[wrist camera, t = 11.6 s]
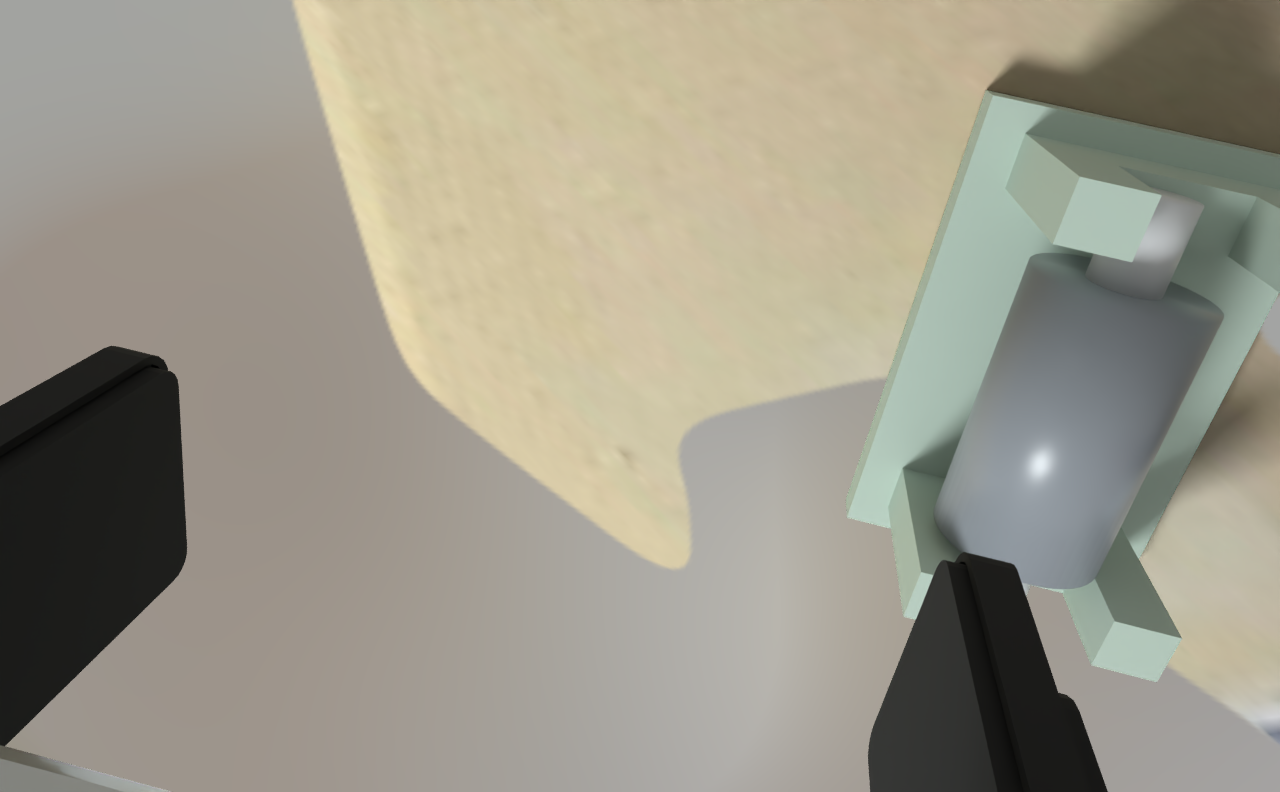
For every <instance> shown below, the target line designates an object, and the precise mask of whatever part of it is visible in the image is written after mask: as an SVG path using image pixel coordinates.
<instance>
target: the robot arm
mask: <svg viewBox="0 0 1280 792" xmlns="http://www.w3.org/2000/svg"><path fill="white" fill-rule="evenodd" d="M182 463H183V462H182V443H181V424H180V404H179V386H178V380H177V378H176V376H175V374H173V373H172V372H171V371H168V368H167V365H166V364H165V362H164V360H163V359H161V358H160V357H159V356H154V355H150V354H146V353H142V352H138V351H134V350H130V349H125V348H121V347H116V346H110V347H107V348H104V349H102V350H100V351H98V352H97V353H95V354H93V355H91V356H89V357H88V358H86V359H84V360H82V361H81V362H79V363H77V364H75V365H73V366H71V367H70V368H68V369H66V370H65V371H63V372H61V373H59V374H57V375H55V376H53V377H52V378H50V379H48V380H46V381H44V382H43V383H41V384H39V385H37V386H36V387H34V388H32V389H30V390H29V391H26V392H25V393H23V394H21V395H19V396H17V397H16V398H14V399H12V400H10V401H9V402H7V403H5V404H3V405H1V406H0V792H171V791H167V790H164V789H160V788H157V787H153V786H149V785H145V784H142V783H138V782H135V781H131V780H127V779H123V778H120V777H115V776H112V775H109V774H105V773H101V772H98V771H94V770H90V769H87V768H82V767H79V766H75V765H72V764H68V763H64V762H61V761H57V760H53V759H49V758H46V757H42V756H38V755H35V754H31V753H27V752H24V751H20V750H16V749H12V748H9V747H5V745H6V744H7V743H8V742H10V741H11V740H12V738H13V737H15V736H16V735H17V734H18V733H19V732H20V731H21V730H22V729H23V728H24V727H25V726H26V725H27V724H28V723H29V722H30V721H31V720H32V719H33V718H34V717H35V716H36V715H37V714H38V713H39V712H40V711H41V710H42V709H43V708H44V707H45V706H46V705H47V704H48V703H49V702H50V701H51V700H52V699H53V698H54V697H55V696H56V695H57V694H58V693H60V692H61V691H62V689H64V687H66V686H67V685H68V684H69V683H70V682H71V681H72V680H73V679H74V678H75V677H76V676H77V675H78V674H79V673H80V672H81V671H82V670H83V669H84V668H85V667H86V666H87V665H88V664H89V663H90V662H91V661H92V660H93V659H94V658H95V657H96V656H97V655H98V654H99V653H100V652H101V651H102V650H103V649H104V648H105V647H106V646H107V645H108V644H109V643H111V642H112V640H114V639H115V638H116V637H117V636H118V635H119V634H120V633H121V632H122V631H123V630H124V629H125V628H126V627H127V626H128V625H129V624H130V623H131V622H132V621H133V620H134V619H135V618H136V617H137V616H138V615H139V614H140V613H141V612H142V611H143V610H144V609H145V608H146V607H147V606H148V605H149V604H150V603H151V602H152V601H153V600H154V599H155V598H156V597H157V596H158V595H159V594H160V593H161V592H163V591H164V590H165V588H167V587H168V586H169V585H170V584H171V583H172V582H173V581H174V579H175V578H176V577H177V576H178V575H179V573H180V571H181V569H182V567H183V565H184V562H185V559H186V554H187V539H186V520H185V500H184V482H183V464H182ZM868 764H869V777H870V792H1108V791H1107V789H1106V786H1105V783H1104V780H1103V777H1102V774H1101V772H1100V769H1099V766H1098V763H1097V760H1096V757H1095V754H1094V752H1093V749H1092V746H1091V743H1090V740H1089V737H1088V735H1087V732H1086V729H1085V726H1084V723H1083V720H1082V718H1081V715H1080V712H1079V710H1078V708H1077V706H1076V704H1075V702H1074V701H1073V700H1072V699H1071V698H1069V697H1068V696H1067V695H1065V694H1061V693H1058V691H1057V688H1056V685H1055V682H1054V679H1053V676H1052V673H1051V670H1050V667H1049V664H1048V661H1047V658H1046V655H1045V652H1044V649H1043V646H1042V643H1041V640H1040V637H1039V633H1038V631H1037V627H1036V624H1035V621H1034V618H1033V615H1032V612H1031V609H1030V607H1029V603H1028V600H1027V598H1026V594H1025V591H1024V588H1023V585H1022V582H1021V579H1020V576H1019V573H1018V570H1017V568H1016V567H1015V565H1014V564H1012V563H1008V562H1004V561H1000V560H996V559H992V558H988V557H983V556H979V555H975V554H971V553H967V552H963V553H961V554H960V555H959V556H958V558H957V559H956V561H955V562H951V561H947V560H942V561H941V562H940V563H939V564H938V566H937V568H936V570H935V573H934V575H933V578H932V580H931V583H930V585H929V588H928V590H927V593H926V595H925V598H924V600H923V603H922V605H921V608H920V610H919V613H918V615H917V618H916V621H915V623H914V626H913V628H912V631H911V633H910V636H909V638H908V641H907V643H906V646H905V648H904V651H903V653H902V656H901V659H900V661H899V663H898V666H897V668H896V671H895V673H894V676H893V678H892V681H891V683H890V686H889V688H888V691H887V693H886V696H885V698H884V701H883V703H882V706H881V709H880V711H879V714H878V716H877V718H876V721H875V724H874V726H873V729H872V733H871V737H870V742H869V751H868Z"/></svg>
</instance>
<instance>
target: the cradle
mask: <svg viewBox="0 0 1280 792" xmlns="http://www.w3.org/2000/svg"><path fill="white" fill-rule="evenodd" d="M1151 187H1153V188H1157V189H1161V190H1165V191H1169V192H1172V193H1176V194H1179V195H1182V196H1185V197H1188V198H1191V199H1193V200H1196V201H1198V202H1200V203H1202V204H1203V205H1204V206H1205V207H1204V209H1203V211H1202V213H1201V215H1200V217H1199V220H1198V222H1197V224H1196V226H1195V228H1194V231H1193V233H1192V235H1191V237H1190V239H1189V242H1188V244H1187V246H1186V248H1185V250H1184V252H1183V255H1182V257H1181V259H1180V261H1179V263H1178V266H1177V268H1176V270H1175V272H1174V274H1173V276H1172V279H1171V281H1170V282H1173V283H1176V284H1178V285H1180V286H1182V287H1185V288H1187V289H1189V290H1191V291H1193V292H1195V293H1197V294H1199V295H1201V296H1203V297H1204V298H1206V299H1208V300H1209V301H1211V302H1212V303H1214V304H1215V305H1216V306H1218V307H1219V308H1220V309H1221V310H1222V312H1223V313H1224V319H1223V321H1222V323H1221V325H1220V327H1219V329H1218V331H1217V333H1216V335H1215V337H1214V339H1213V341H1212V343H1211V345H1210V347H1209V349H1208V351H1207V353H1206V356H1205V358H1204V360H1203V362H1202V364H1201V366H1200V368H1199V370H1198V372H1197V374H1196V376H1195V378H1194V380H1193V382H1192V384H1191V386H1190V388H1189V390H1188V392H1187V394H1186V396H1185V398H1184V400H1183V402H1182V404H1181V406H1180V408H1179V410H1178V412H1177V414H1176V416H1175V418H1174V420H1173V422H1172V424H1171V426H1170V428H1169V430H1168V433H1167V435H1166V437H1165V439H1164V441H1163V443H1162V445H1161V447H1160V449H1159V451H1158V453H1157V455H1156V457H1155V459H1154V461H1153V463H1152V465H1151V467H1150V469H1149V471H1148V473H1147V475H1146V477H1145V479H1144V481H1143V483H1142V485H1141V487H1140V489H1139V491H1138V493H1137V495H1136V497H1135V499H1134V501H1133V503H1132V505H1131V507H1130V510H1129V512H1128V514H1127V516H1126V518H1125V520H1124V522H1123V524H1122V526H1121V528H1120V530H1119V532H1118V534H1117V536H1116V538H1115V540H1114V542H1113V544H1112V546H1111V548H1110V550H1109V552H1108V554H1107V556H1106V558H1105V560H1104V562H1103V564H1102V566H1101V568H1100V570H1099V572H1098V574H1097V576H1096V578H1095V579H1094V580H1093V581H1092V582H1091V583H1089V584H1088V585H1085V586H1083V587H1079V588H1074V589H1051V588H1044V589H1048V590H1052V591H1056V592H1060V593H1063V596H1064V598H1065V601H1066V603H1067V606H1068V608H1069V611H1070V613H1071V616H1072V618H1073V621H1074V623H1075V626H1076V628H1077V631H1078V633H1079V636H1080V638H1081V641H1082V643H1083V646H1084V648H1085V651H1086V653H1087V656H1088V658H1089V661H1090V663H1091V665H1092V666H1096V667H1101V668H1105V669H1108V670H1112V671H1116V672H1120V673H1123V674H1127V675H1131V676H1135V677H1139V678H1143V679H1147V680H1150V681H1155V682H1157V681H1158V679H1159V678H1160V676H1161V674H1162V672H1163V671H1164V669H1165V667H1166V665H1167V664H1168V662H1169V660H1170V659H1171V657H1172V655H1173V653H1174V652H1175V650H1176V648H1177V646H1178V645H1179V643H1180V641H1181V640H1182V638H1181V636H1180V634H1179V632H1178V630H1177V628H1176V627H1175V625H1174V623H1173V621H1172V619H1171V617H1170V616H1169V614H1168V612H1167V610H1166V608H1165V607H1164V605H1163V603H1162V601H1161V599H1160V597H1159V596H1158V594H1157V592H1156V590H1155V588H1154V586H1153V585H1152V583H1151V581H1150V579H1149V577H1148V575H1147V574H1146V572H1145V570H1144V568H1143V566H1142V565H1141V563H1140V561H1139V558H1140V556H1141V554H1142V552H1143V551H1144V549H1145V547H1146V545H1147V543H1148V541H1149V539H1150V537H1151V535H1152V533H1153V532H1154V530H1155V528H1156V526H1157V524H1158V522H1159V520H1160V518H1161V516H1162V514H1163V513H1164V511H1165V509H1166V507H1167V505H1168V503H1169V501H1170V499H1171V497H1172V495H1173V494H1174V492H1175V490H1176V488H1177V486H1178V484H1179V482H1180V480H1181V478H1182V476H1183V475H1184V473H1185V471H1186V469H1187V467H1188V465H1189V463H1190V461H1191V459H1192V457H1193V456H1194V454H1195V452H1196V450H1197V448H1198V446H1199V444H1200V442H1201V440H1202V438H1203V437H1204V435H1205V433H1206V431H1207V429H1208V427H1209V425H1210V423H1211V421H1212V419H1213V418H1214V416H1215V414H1216V412H1217V410H1218V408H1219V406H1220V404H1221V402H1222V400H1223V399H1224V397H1225V395H1226V393H1227V391H1228V389H1229V387H1230V385H1231V383H1232V381H1233V380H1234V378H1235V376H1236V374H1237V372H1238V370H1239V368H1240V366H1241V364H1242V362H1243V361H1244V359H1245V357H1246V355H1247V353H1248V351H1249V349H1250V347H1251V345H1252V343H1253V342H1254V340H1255V338H1256V336H1257V334H1258V332H1259V330H1260V328H1261V326H1262V324H1263V323H1264V321H1265V319H1266V317H1267V315H1268V313H1269V311H1270V309H1271V307H1272V305H1273V303H1274V302H1275V300H1276V298H1277V296H1278V294H1279V293H1280V154H1276V153H1272V152H1267V151H1263V150H1258V149H1253V148H1249V147H1244V146H1240V145H1235V144H1231V143H1226V142H1221V141H1217V140H1212V139H1208V138H1203V137H1199V136H1194V135H1189V134H1185V133H1180V132H1176V131H1171V130H1167V129H1162V128H1157V127H1153V126H1148V125H1144V124H1139V123H1135V122H1130V121H1125V120H1121V119H1116V118H1112V117H1107V116H1103V115H1098V114H1093V113H1089V112H1084V111H1080V110H1075V109H1071V108H1066V107H1061V106H1057V105H1052V104H1048V103H1043V102H1039V101H1034V100H1029V99H1025V98H1020V97H1016V96H1011V95H1007V94H1002V93H997V92H993V91H988V90H986V91H985V94H984V97H983V100H982V103H981V106H980V109H979V112H978V115H977V118H976V121H975V124H974V126H973V129H972V132H971V135H970V138H969V141H968V144H967V147H966V150H965V153H964V156H963V159H962V162H961V164H960V167H959V170H958V173H957V176H956V179H955V182H954V185H953V188H952V191H951V194H950V197H949V200H948V203H947V205H946V208H945V211H944V214H943V217H942V220H941V223H940V226H939V229H938V232H937V235H936V238H935V241H934V243H933V246H932V249H931V252H930V255H929V258H928V261H927V264H926V267H925V270H924V273H923V276H922V279H921V281H920V284H919V287H918V290H917V293H916V296H915V299H914V302H913V305H912V308H911V311H910V314H909V317H908V320H907V322H906V325H905V328H904V331H903V334H902V337H901V340H900V343H899V346H898V349H897V352H896V355H895V358H894V360H893V363H892V366H891V369H890V372H889V375H888V378H887V381H886V384H885V387H884V390H883V393H882V396H881V398H880V401H879V404H878V407H877V410H876V413H875V416H874V419H873V422H872V425H871V428H870V431H869V434H868V436H867V439H866V442H865V445H864V448H863V452H862V454H861V457H860V460H859V463H858V466H857V469H856V472H855V475H854V478H853V480H852V484H851V486H850V489H849V492H848V495H847V498H846V511H847V518H851V519H854V520H858V521H862V522H866V523H870V524H874V525H878V526H882V527H886V528H890V529H891V532H892V539H893V547H894V554H895V560H896V568H897V575H898V582H899V590H900V597H901V604H902V610H903V617H907V618H911V619H915V620H916V618H917V615H918V613H919V610H920V608H921V605H922V603H923V600H924V598H925V595H926V593H927V590H928V588H929V585H930V583H931V580H932V578H933V575H934V573H935V570H936V568H937V566H938V564H939V563H940V562H941V561H942V560H947V561H951V562H955V561H956V559H957V558H958V556H959V555H960V554H961V553H962V552H961V551H959V550H958V549H957V548H956V547H955V546H953V545H952V544H951V543H950V542H949V541H948V540H947V539H946V538H945V536H944V535H943V534H942V533H941V531H940V530H939V528H938V526H937V525H936V522H935V519H934V514H933V512H934V507H935V504H936V502H937V499H938V496H939V494H940V491H941V488H942V486H943V483H944V481H945V478H946V475H947V473H948V470H949V468H950V465H951V462H952V460H953V457H954V454H955V452H956V449H957V447H958V444H959V441H960V439H961V436H962V433H963V431H964V428H965V426H966V423H967V420H968V418H969V415H970V413H971V410H972V407H973V405H974V402H975V399H976V397H977V394H978V392H979V389H980V386H981V384H982V381H983V378H984V376H985V373H986V371H987V368H988V365H989V363H990V360H991V358H992V355H993V352H994V350H995V347H996V344H997V342H998V339H999V337H1000V334H1001V331H1002V329H1003V326H1004V323H1005V321H1006V318H1007V316H1008V313H1009V310H1010V308H1011V305H1012V303H1013V300H1014V297H1015V295H1016V292H1017V289H1018V287H1019V284H1020V282H1021V279H1022V276H1023V274H1024V271H1025V268H1026V266H1027V263H1028V261H1029V258H1030V257H1031V256H1032V255H1035V254H1039V253H1063V254H1071V255H1078V256H1084V257H1089V258H1092V256H1093V254H1098V255H1102V256H1107V257H1111V258H1115V259H1120V260H1124V261H1128V262H1132V261H1133V259H1134V257H1135V255H1136V252H1137V250H1138V248H1139V246H1140V243H1141V241H1142V239H1143V237H1144V234H1145V232H1146V230H1147V228H1148V225H1149V223H1150V221H1151V219H1152V216H1153V214H1154V212H1155V210H1156V207H1157V205H1158V203H1159V201H1160V198H1161V196H1162V195H1161V194H1160V193H1158V192H1157V191H1155V190H1154V189H1152V188H1151ZM1036 587H1038V586H1036ZM1040 588H1043V587H1040Z"/></svg>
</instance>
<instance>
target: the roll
mask: <svg viewBox="0 0 1280 792" xmlns="http://www.w3.org/2000/svg"><path fill="white" fill-rule="evenodd" d="M1151 188H1152V189H1154V190H1155V191H1157V192H1158V193H1160V194H1161V195H1162V196H1161V198H1160V201H1159V203H1158V205H1157V207H1156V210H1155V212H1154V214H1153V216H1152V219H1151V221H1150V223H1149V225H1148V228H1147V230H1146V232H1145V234H1144V237H1143V239H1142V241H1141V243H1140V246H1139V248H1138V250H1137V252H1136V255H1135V257H1134V259H1133V261H1132V262H1128V261H1124V260H1120V259H1115V258H1111V257H1107V256H1102V255H1098V254H1093V256H1092V258H1089V257H1084V256H1078V255H1071V254H1063V253H1039V254H1035V255H1032V256H1031V257H1030V258H1029V261H1028V263H1027V266H1026V268H1025V271H1024V274H1023V276H1022V279H1021V282H1020V284H1019V287H1018V289H1017V292H1016V295H1015V297H1014V300H1013V303H1012V305H1011V308H1010V310H1009V313H1008V316H1007V318H1006V321H1005V323H1004V326H1003V329H1002V331H1001V334H1000V337H999V339H998V342H997V344H996V347H995V350H994V352H993V355H992V358H991V360H990V363H989V365H988V368H987V371H986V373H985V376H984V378H983V381H982V384H981V386H980V389H979V392H978V394H977V397H976V399H975V402H974V405H973V407H972V410H971V413H970V415H969V418H968V420H967V423H966V426H965V428H964V431H963V433H962V436H961V439H960V441H959V444H958V447H957V449H956V452H955V454H954V457H953V460H952V462H951V465H950V468H949V470H948V473H947V475H946V478H945V481H944V483H943V486H942V488H941V491H940V494H939V496H938V499H937V502H936V504H935V507H934V512H933V514H934V519H935V522H936V525H937V526H938V528H939V530H940V531H941V533H942V534H943V535H944V536H945V538H946V539H947V540H948V541H949V542H950V543H951V544H952V545H953V546H955V547H956V548H957V549H958V550H959V551H961V552H962V553H963V552H967V553H971V554H975V555H979V556H983V557H988V558H992V559H996V560H1000V561H1004V562H1008V563H1012V564H1014V565H1015V567H1016V568H1017V570H1018V573H1019V576H1020V579H1021V582H1022V585H1023V588H1024V591H1025V594H1026V596H1027V593H1028V591H1029V589H1030V587H1031V585H1033V586H1038V587H1043V588H1051V589H1074V588H1079V587H1083V586H1085V585H1088V584H1089V583H1091V582H1092V581H1093V580H1094V579H1095V578H1096V576H1097V574H1098V572H1099V570H1100V568H1101V566H1102V564H1103V562H1104V560H1105V558H1106V556H1107V554H1108V552H1109V550H1110V548H1111V546H1112V544H1113V542H1114V540H1115V538H1116V536H1117V534H1118V532H1119V530H1120V528H1121V526H1122V524H1123V522H1124V520H1125V518H1126V516H1127V514H1128V512H1129V510H1130V507H1131V505H1132V503H1133V501H1134V499H1135V497H1136V495H1137V493H1138V491H1139V489H1140V487H1141V485H1142V483H1143V481H1144V479H1145V477H1146V475H1147V473H1148V471H1149V469H1150V467H1151V465H1152V463H1153V461H1154V459H1155V457H1156V455H1157V453H1158V451H1159V449H1160V447H1161V445H1162V443H1163V441H1164V439H1165V437H1166V435H1167V433H1168V430H1169V428H1170V426H1171V424H1172V422H1173V420H1174V418H1175V416H1176V414H1177V412H1178V410H1179V408H1180V406H1181V404H1182V402H1183V400H1184V398H1185V396H1186V394H1187V392H1188V390H1189V388H1190V386H1191V384H1192V382H1193V380H1194V378H1195V376H1196V374H1197V372H1198V370H1199V368H1200V366H1201V364H1202V362H1203V360H1204V358H1205V356H1206V353H1207V351H1208V349H1209V347H1210V345H1211V343H1212V341H1213V339H1214V337H1215V335H1216V333H1217V331H1218V329H1219V327H1220V325H1221V323H1222V321H1223V319H1224V313H1223V312H1222V310H1221V309H1220V308H1219V307H1218V306H1216V305H1215V304H1214V303H1212V302H1211V301H1209V300H1208V299H1206V298H1204V297H1203V296H1201V295H1199V294H1197V293H1195V292H1193V291H1191V290H1189V289H1187V288H1185V287H1182V286H1180V285H1178V284H1176V283H1173V282H1170V281H1171V279H1172V276H1173V274H1174V272H1175V270H1176V268H1177V266H1178V263H1179V261H1180V259H1181V257H1182V255H1183V252H1184V250H1185V248H1186V246H1187V244H1188V242H1189V239H1190V237H1191V235H1192V233H1193V231H1194V228H1195V226H1196V224H1197V222H1198V220H1199V217H1200V215H1201V213H1202V211H1203V209H1204V207H1205V206H1204V205H1203V204H1202V203H1200V202H1198V201H1196V200H1193V199H1191V198H1188V197H1185V196H1182V195H1179V194H1176V193H1172V192H1169V191H1165V190H1161V189H1157V188H1153V187H1151Z"/></svg>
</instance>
